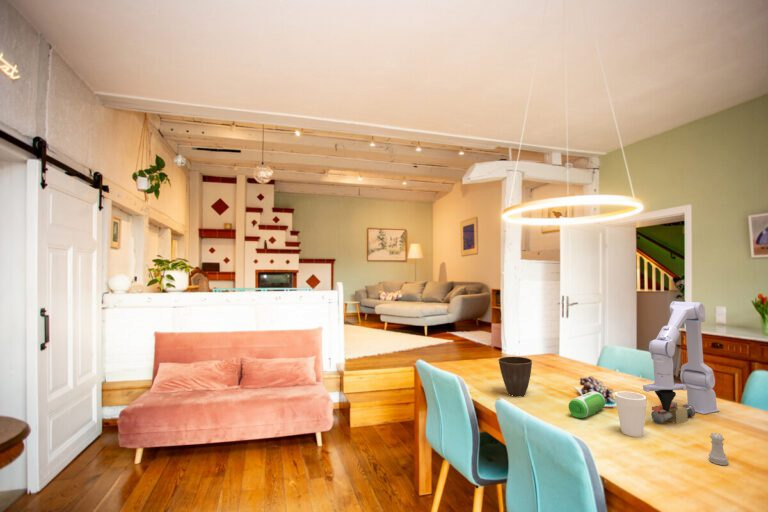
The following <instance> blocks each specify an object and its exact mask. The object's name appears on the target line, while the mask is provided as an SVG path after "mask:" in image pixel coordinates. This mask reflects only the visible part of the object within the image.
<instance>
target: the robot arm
mask: <svg viewBox="0 0 768 512" xmlns="http://www.w3.org/2000/svg"><path fill="white" fill-rule="evenodd" d="M669 312H670V317H669V320H668V322H667V325H663V326H662V327H661V329H660V330H659V333H658V334H657V336H656V337H655V339H653V340H650V341H649V346H648V351H649V353H650V357H651V360H652V361H653V363H652V364H653V376H654V377H653V378H654V383H650V384H643V385H642V390H643V391H644V392H646V393H649V392H654V393H655V394H656V396H657V398H658V400H659V401H660V405H662V407H663V410H665V411H667V412H668V411H669V410H670V406H671V403H672V402H673V400H674V398H675V397H676V395H677V393H676V392H675V391H686V398H687V399H686V400H687V404H688V405H691V406H692V407H693V408H694V410H695V413H698V414H701V415H706V414H711V413H716V412H720V409H719V408H717V395H716V392H715V390H714V389H713V388H714V387H715V385H716V378H715V375H714V370H713V369H712V368H711V366H710V367H709V365H707V364H705V363H704V351H703V335H702V323H705V322H706V308H705V306H704V304H703V303H702V301H701V302H700V301H697V302H696V301H695V302H694V301H676V300H673V301H671V303H670V304H669ZM683 324H685V335H686V336H685V337H686V338H685V339H686V353H687V354H686V355H687V362H685V363H684V364H683V365H681V368H680V375H679V379H680V381H681V383H675V380H674V369H673V368H674V367H673V366H674V365H673V357H674V355H675V353H676V343H677V341H678V339H679V337H680V335H681V333H680V331H679V330H680V328H681V327H682V326H683Z"/></svg>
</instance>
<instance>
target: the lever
mask: <svg viewBox="0 0 768 512" xmlns="http://www.w3.org/2000/svg"><path fill="white" fill-rule="evenodd" d="M678 406H679V405H678V403H677V402H676V401H672V403H671V406H670V408H671V407H678ZM662 410H663V407H662V404H660V406H659V405H654V406H651V411H652V412H653V411H657V412H658V411H662Z"/></svg>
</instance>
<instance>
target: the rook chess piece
mask: <svg viewBox="0 0 768 512" xmlns="http://www.w3.org/2000/svg"><path fill="white" fill-rule="evenodd" d="M709 437H710V439H711V441H710V443H711V451H710V453H709V454H708V460H709V461H710V462H711V463H712V462H713V463H712V464H714V463H716V464H715V465H718V464H720V465H719V466H727V465H728V464H729V461H728V460H729V459H728V457H727V456H726V453H725V451H724V443H723V441H724V440H725V438H724V437H723V435H722V433H718V434H717V432H711V433H710V436H709Z"/></svg>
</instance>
